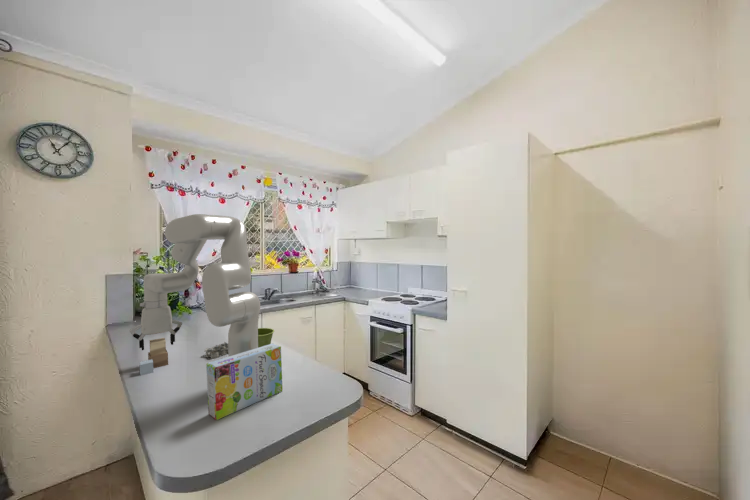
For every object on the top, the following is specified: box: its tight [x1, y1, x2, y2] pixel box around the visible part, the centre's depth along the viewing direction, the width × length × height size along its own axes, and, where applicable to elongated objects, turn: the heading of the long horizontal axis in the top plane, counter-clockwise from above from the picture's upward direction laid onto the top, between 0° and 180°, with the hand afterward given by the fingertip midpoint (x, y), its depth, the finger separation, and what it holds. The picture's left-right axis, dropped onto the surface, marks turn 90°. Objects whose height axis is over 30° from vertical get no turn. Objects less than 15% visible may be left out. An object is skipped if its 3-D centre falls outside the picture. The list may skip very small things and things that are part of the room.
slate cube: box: [139, 359, 154, 376], centre depth 118 cm, size 4×4×4 cm
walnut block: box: [147, 349, 169, 369], centre depth 125 cm, size 6×6×5 cm
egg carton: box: [203, 341, 228, 360], centre depth 136 cm, size 11×8×4 cm
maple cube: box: [149, 337, 167, 356], centre depth 125 cm, size 5×5×5 cm
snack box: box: [205, 343, 283, 421], centre depth 94 cm, size 21×6×15 cm, turn 141°
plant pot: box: [258, 327, 275, 348], centre depth 130 cm, size 12×12×11 cm
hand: (157, 346), depth 125 cm, fingers open, 9 cm apart
